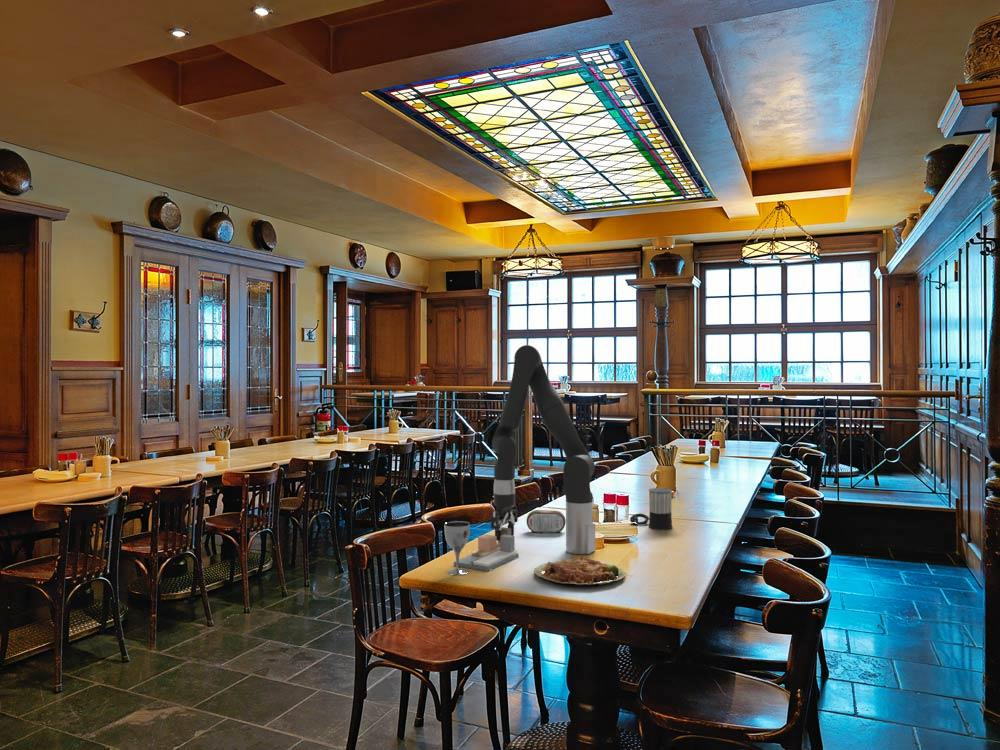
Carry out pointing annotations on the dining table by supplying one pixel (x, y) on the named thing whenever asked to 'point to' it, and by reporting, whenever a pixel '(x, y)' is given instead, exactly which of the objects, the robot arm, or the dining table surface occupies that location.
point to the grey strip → (499, 552)
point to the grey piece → (503, 532)
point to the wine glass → (457, 541)
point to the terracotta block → (487, 543)
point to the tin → (545, 521)
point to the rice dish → (579, 571)
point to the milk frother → (657, 509)
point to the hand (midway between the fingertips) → (504, 537)
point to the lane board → (469, 559)
